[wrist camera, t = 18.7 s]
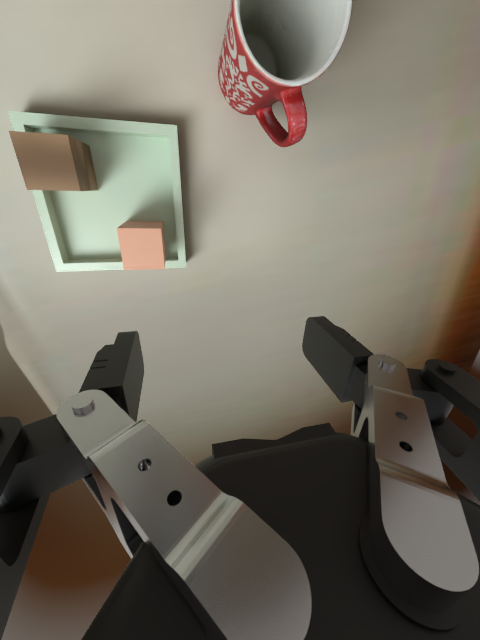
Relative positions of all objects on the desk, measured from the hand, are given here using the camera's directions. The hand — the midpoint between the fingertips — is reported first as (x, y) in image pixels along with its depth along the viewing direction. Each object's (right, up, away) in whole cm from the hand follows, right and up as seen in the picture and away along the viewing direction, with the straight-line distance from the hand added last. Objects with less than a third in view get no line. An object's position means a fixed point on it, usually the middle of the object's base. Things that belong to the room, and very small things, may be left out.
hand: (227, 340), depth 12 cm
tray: (-15, +16, +20) cm, 30 cm away
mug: (+2, +28, +19) cm, 34 cm away
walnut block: (-19, +18, +17) cm, 31 cm away
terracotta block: (-12, +12, +22) cm, 28 cm away
